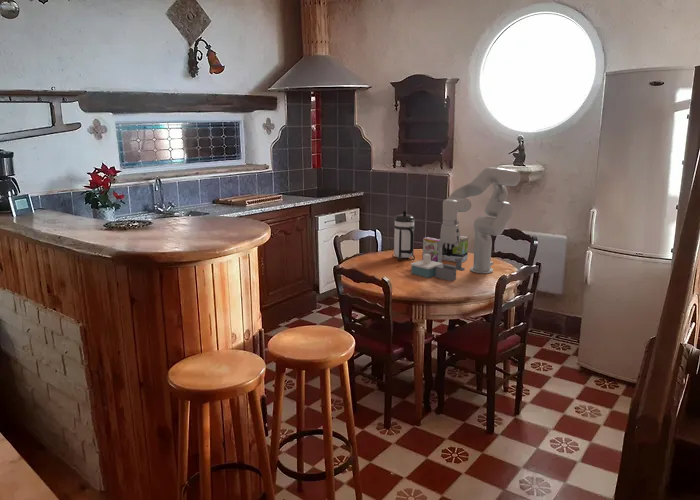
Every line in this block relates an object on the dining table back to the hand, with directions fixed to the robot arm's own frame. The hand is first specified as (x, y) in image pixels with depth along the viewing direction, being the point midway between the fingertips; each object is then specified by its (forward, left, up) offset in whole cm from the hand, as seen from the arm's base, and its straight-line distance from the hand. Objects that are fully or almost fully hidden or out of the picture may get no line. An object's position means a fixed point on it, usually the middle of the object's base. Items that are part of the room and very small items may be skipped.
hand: (449, 255), depth 297 cm
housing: (+1, -8, -13) cm, 15 cm away
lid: (+1, -14, -8) cm, 16 cm away
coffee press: (-17, -44, -13) cm, 49 cm away
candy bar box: (-15, -22, -13) cm, 30 cm away
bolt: (+1, +4, -6) cm, 7 cm away
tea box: (-36, -21, -13) cm, 44 cm away
